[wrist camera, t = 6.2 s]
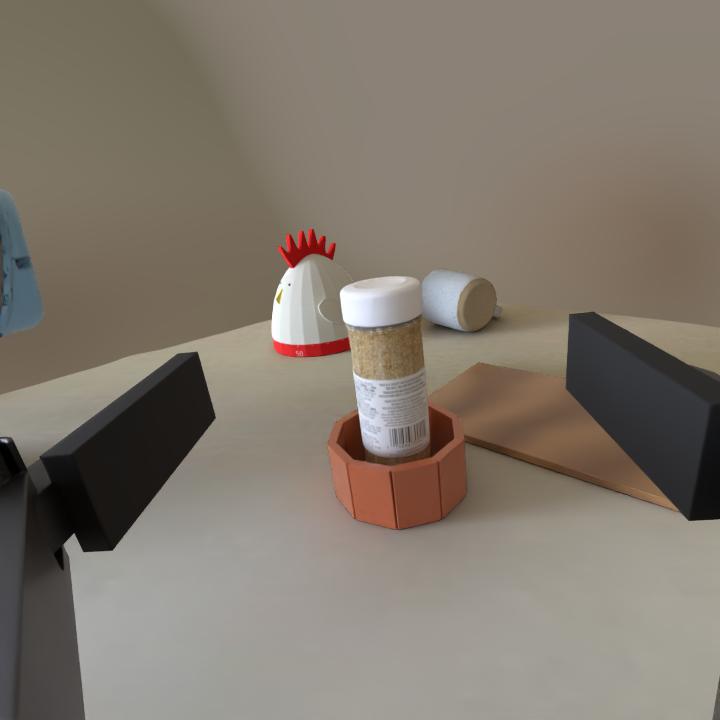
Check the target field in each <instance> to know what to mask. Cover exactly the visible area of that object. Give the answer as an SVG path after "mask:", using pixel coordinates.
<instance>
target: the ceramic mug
mask: <svg viewBox="0 0 720 720" xmlns="http://www.w3.org/2000/svg"><path fill="white" fill-rule="evenodd" d="M421 293H422V303H423V311H422V313H421V314H422V316H423V317H424V318H425V319H426V320H427V321H429V322H431V323H435V324H438V325H442V326H446V327H450V328H454V329H457V330H461V331H468V332H472V331H477V330H479V329H481V328H483V327H484V326H485V325H486V324H487V323H488V322H489V321H490V319H491V318H492V317H495V318H499V317H500V315H501V312H502V307H499V306H496V300H497V299H496V292H495V289H494V287H493V285H492V284H491V283H490V282H489V281H488V280H486V279H484V278H481V277H479V276H476V275H471V274H465V273H462V272H458V271H453V270H449V269H444V268H443V269H442V268H441V269H437V270H434V271H432V272H431V273H430V274H428V275H427V276H426V278H425V279H424V281H423V283H422V284H421Z"/></svg>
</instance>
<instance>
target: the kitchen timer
mask: <svg viewBox="0 0 720 720" xmlns="http://www.w3.org/2000/svg"><path fill="white" fill-rule="evenodd" d="M286 240H287V246H288V252H286V251H285V250H284V249H283V248H282V247H281V246H278V250H279V252H280V253H281V255H282V257H283V258H284V259H285V261H286V262H287V264H288V265H289V267H290V268H289V269H288V270H287V272H286V273H285V275H284V276H283V278H282V280H281V282H280V284H279V287H278V289H277V292H276V296H275V300H274V307H273V316H272V337H273V342H274V347H275V349H276V351H277V352H279V353H281V354H283V355H287V356H293V357H313V356H323V355H329V354H334V353H339V352H342V351H346V350H349V349H351V348H350V341H349V333H348V329H347V327H346V322H345V321H344V320H343V315H342V307H341V299H340V292H341V290H342V289H343V288H344V287H345V286H347V285H349V284H352V283H354V282H353V281H352V279H351V278H350V276H349V275H348V274H347V273H346V272H345V270H344V269H343V268H341V267H340V266H339V265H338V264H337V263H335V262H334V261H332V260H333V256H334V252H335V245H336V244H335V243H331V245H330V247H329V250H328V252H327V253H326V252H325V241H326V237H325V236H321V237H320V239H319V242H318V243H317V240H316V236H315V233H314V230H313V229H309V234H308V245H307V242H306V238H305V235H304V232H303V231H299V247H298V248H297V247H296V244H295V242H294V240H293V238H292V236H291V235H286Z"/></svg>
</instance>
